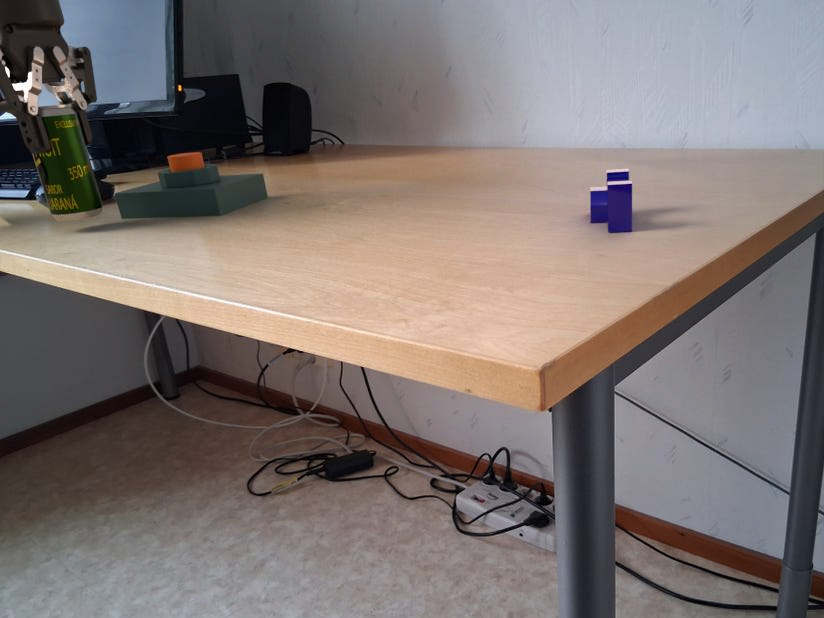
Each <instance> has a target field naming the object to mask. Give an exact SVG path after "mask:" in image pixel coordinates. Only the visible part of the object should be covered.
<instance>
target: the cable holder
mask: <svg viewBox="0 0 824 618" xmlns="http://www.w3.org/2000/svg"><path fill="white" fill-rule="evenodd" d="M605 173H606V185H605V186H603V185H602V186H590V188H589V189H590V191H589V193H590V194H589V196H590V197H589V201H590V202H589V203H590V204H589V205H590V207H589V210H590V211H589V213H590V216H589V217H590V224H596V223H607V233H626V232H630V233H631V232H633V182H632V180H630V170H629V168H616V169H606V172H605Z"/></svg>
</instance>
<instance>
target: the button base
mask: <svg viewBox="0 0 824 618" xmlns="http://www.w3.org/2000/svg"><path fill="white" fill-rule="evenodd" d="M204 166H205V167H203V168H199V169H193V170H185V171H171V170H170V167H169V168H166V169H165V168H164V169H161V170H159V171H158V172H157V176H158V180H159V181H155V182H151V183H147V184H144V185H140V186H136V187H133V188H129V189H125V190H121V191H118V192H117V191H116V192H114V197H115V201H116V205H117V208H118V212H119V215H120V218H121V220H132V219H133V220H134V219H160V218H161V219H163V218H165V219H166V218H167V219H168V218H188V217H189V218H190V217H191V218H192V217H193V218H195V217H220V216H224V215H226V214H229V213H232V212H235V211H237V210H240V209H242V208H244V207H247V206H249V205H252V204H255V203H258V202H260V201H263V200H265V199H268V198H269V197H268V191H267V186H266V181H265V177H264V173H262V172H261V173H244V174H224V175H223V174H221V175H220V171H219V166H218V164H216V163H204Z"/></svg>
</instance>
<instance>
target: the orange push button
mask: <svg viewBox="0 0 824 618" xmlns="http://www.w3.org/2000/svg"><path fill="white" fill-rule="evenodd" d="M202 153H203V152H200V151H195V152H184V153H176V154H171V155H168V156H166V157H167V162H168V165H169V168H170V170H171V171H185V170H193V169H199V168H203V167H205V166H204V164H205V162H204V159H203V154H202Z"/></svg>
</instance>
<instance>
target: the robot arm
mask: <svg viewBox="0 0 824 618" xmlns="http://www.w3.org/2000/svg"><path fill="white" fill-rule="evenodd" d="M64 24H65V16H64V14H63V11H62V6H61V3H60V0H0V113H3V112H4V113H7V114H10V115H12V116H13V117H15V119H16V121H17V124H18V127H19V129H20V133H21V137H22V138H23V141H24V142H23V143H24V145H25V146H26V148H27V149H28V150H29V152H30V153H31V154H32V153H33V154H40V153H48V152H51V146H50V143H49V139H48V136H47V133H46V130H45V127H44V123H43V120H42V117H41V116H36V115H37V114H38V107H39V95H40V94H41V93H42V92H43V86H44V87H45V89H46V91H48V92H49V93H50V94H53V96H54V97H55V99H56V100H57V102H58V104H59V105H65V104H72V108H73V109H74V111H75V112H76V113H77V116H78V119H79V123H80V126H81V130H82V133H83V137H84V140H85V144H86V147H88V146H92V144H93V133H92V129H91V126H90V122H89V119H88V115H87V112H86V111H87V108H88V106H89V105H91V104H93V103H96V102H97V101H98V97H97V96H98V95H97V88H96V82H95V74H94V66H93V60H92V59H93V58H92V54H91V53H92V52H91V50H90V49H89V47H88V46H79V47H76V46H71V45H69V44H68V42H67V41H66V40H65V38H64V37H63V34H62V32H61V28H62V27H63V26H64ZM82 82H83V88H84V91H83V88H82Z"/></svg>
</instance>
